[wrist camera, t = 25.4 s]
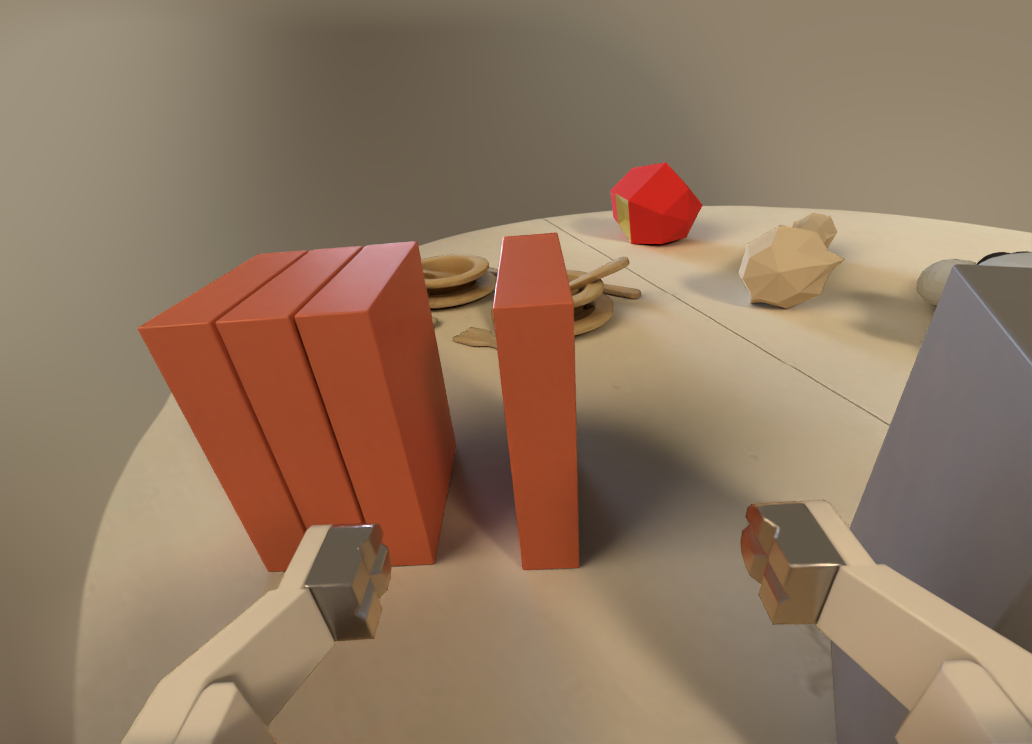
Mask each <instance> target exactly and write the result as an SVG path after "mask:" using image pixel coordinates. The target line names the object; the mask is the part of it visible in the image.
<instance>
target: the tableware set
mask: <svg viewBox="0 0 1032 744" xmlns="http://www.w3.org/2000/svg"><path fill="white" fill-rule="evenodd" d="M421 262H422V268H423V273H424V278H425V284H426V289H427V294H428V300H429V305H430V308H443V307H451V306H456V305H460V304H465V303H469V302H472V301H475V300H477V299H479V298H482V297H484V296H486V295H488V294H489V293H491V292H492V291H493V290H494V289H495V288H496V282H497V279H496V277H495V276H498V269H494V268H490V267H489V262H488V261H487V260H486V259H485V258H483V257H480V256H476V255H470V254H449V255H441V256H435V257H429V258H425V259H421ZM628 265H629V260H628V257H620V258H618V259H616V260H613V261H611V262H609V263H607V264H605V265H604V266H602V267H600V268H598V269H596V270H594V271H592V272H590V273H586V272H581V271H573V270H566V272H567V276H568V281H569V285H570V289H571V294H572V298H573V302H574V335H579V334H582V333H586V332H589V331H592V330H594V329H596V328H598V327H600V326H602V325H603V324H605V323H606V322H607V321H608V320H609V319H610V318H611V316H612V314H613V310H614V306H613V302H612V300H611V299H610V298H609V297H608V296H607V295H605V294H603V293H607V294H612V295H617V296H622V297H627V298H633V299H636V298H639V297H640V296H641V291H640V290H638V289H633V288H627V287H620V286H614V285H607V284H604V283H603V281H602V280H601V278H603V277H605V276H607V275H610V274H612V273H614V272H617V271H619V270H621V269H623V268H625V267H626V266H628ZM491 317H492V321H493V323H494V316H493V308H492V311H491ZM432 321H433V326H434V327H435V326H436V325H437V319H436V318H434V317H432ZM453 341H456V342H459V343H463V344H466V345H470V346H491V347H494V348H497V342H496V336H494V335H493V333H492V332H491V331H488V330H484V329H479V328H474V327H470V328H469V329H467V330H466V332H462V333H460V336H459V335H457V336H455V337H454V338H453Z"/></svg>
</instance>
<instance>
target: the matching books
mask: <svg viewBox="0 0 1032 744" xmlns="http://www.w3.org/2000/svg"><path fill="white" fill-rule="evenodd" d="M138 330H139V332H140V334H141V336H142V338H143V340H144V342H145V344H146V345H147V347H148V349H149V351H150V353H151V355H152V356H153V358H154V360H155V362H156V364H157V366H158V368H159V369H160V371H161V373H162V375H163V377H164V379H165V381H166V383H167V384H168V386H169V388H170V390H171V392H172V394H173V396H174V397H175V399H176V401H177V403H178V405H179V407H180V409H181V410H182V412H183V414H184V416H185V418H186V420H187V422H188V423H189V425H190V427H191V429H192V431H193V433H194V435H195V436H196V438H197V440H198V442H199V444H200V446H201V448H202V449H203V451H204V453H205V455H206V457H207V459H208V461H209V462H210V464H211V466H212V468H213V470H214V472H215V474H216V475H217V477H218V479H219V481H220V483H221V485H222V487H223V489H224V490H225V492H226V494H227V496H228V498H229V500H230V502H231V503H232V505H233V507H234V509H235V511H236V513H237V515H238V516H239V518H240V520H241V522H242V524H243V526H244V528H245V529H246V531H247V533H248V535H249V537H250V539H251V541H252V542H253V544H254V546H255V548H256V550H257V552H258V554H259V555H260V557H261V559H262V561H263V563H264V565H265V567H266V568H267V570H268V571H286V570H287V568H288V566H289V564H290V562H291V560H292V558H293V556H294V554H295V552H296V550H297V548H298V546H299V544H300V542H301V540H302V538H303V536H304V534H305V532H306V531H307V529H309V528H310V527H311V526H312V525H329V524H358V523H378V524H380V526H381V528H382V531H383V533H384V534H383V538H382V541H381V543H383V544H384V545H386V546H387V547H388V548H389V552H390V555H391V564H392V566H401V565H423V564H434V562H435V557H436V552H437V547H438V541H439V536H440V531H441V525H442V520H443V515H444V509H445V504H446V499H447V493H448V488H449V483H450V477H451V472H452V467H453V461H454V456H455V451H456V443H455V437H454V432H453V427H452V421H451V416H450V411H449V405H448V400H447V395H446V390H445V384H444V379H443V374H442V368H441V363H440V358H439V353H438V347H437V342H436V337H435V331H434V326H433V321H432V315H431V310H430V305H429V300H428V294H427V289H426V284H425V278H424V273H423V268H422V262H421V257H420V252H419V247H418V242H416V241H415V242H402V243H390V244H378V245H367V246H366V247H365V248H364V249H363V247H362V246H354V247H343V248H342V247H341V248H329V249H317V250H311V251H310V252H309V253H308V251H307V250H304V251H291V252H279V253H267V254H258V255H256V256H255V257H253V258H251V259H250V260H248V261H246V262H245V263H243V264H241V265H240V266H238V267H236V268H235V269H233V270H232V271H230V272H228V273H227V274H225V275H223V276H222V277H220V278H218V279H217V280H216V281H214V282H212V283H210V284H209V285H207V286H205V287H204V288H202V289H200V290H199V291H197V292H196V293H194V294H192V295H191V296H189V297H188V298H186V299H184V300H182V301H181V302H179V303H178V304H176V305H174V306H173V307H171V308H169V309H168V310H166V311H164V312H163V313H161V314H160V315H158V316H156V317H155V318H153V319H151V320H150V321H148V322H146V323H145V324H143V325H142V326H140V327H138Z"/></svg>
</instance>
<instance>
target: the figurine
mask: <svg viewBox="0 0 1032 744" xmlns="http://www.w3.org/2000/svg"><path fill="white" fill-rule="evenodd" d="M956 264H964V265H984V266H1004V267H1024V268H1032V252H1015V253H1006V252H998V253H992V254H990V255H987V256H985V257H984V258H983V259H981V260H980V261H979V262H978V263H977V264H976V263H975V262H972V261H967V260H959V259H951V260H943V261H939V262H936V263H934V264H932V265H931V266H929V267H927V268H926V269H925V270H924V271H923V272H922V273H921V275H920V277H919V279H918V284H917V290H918V293H919V295H920V296H921V297H922V298H923V299H924V301H926V302H928V303H929V304H931V305H934V306H937V305H938V302H939V300H940V297H941V294H942V292H943V289H944V287H945V284H946V282H947V279H948V277H949V274H950V272H951V269H952V267H953V266H954V265H956Z"/></svg>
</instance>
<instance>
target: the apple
mask: <svg viewBox="0 0 1032 744" xmlns="http://www.w3.org/2000/svg"><path fill="white" fill-rule="evenodd" d="M611 200H612V208H613V217H614V218H615V220H616V221H617V223H618V224H619V226H620V228H621V229H622V231H623V232H624V234H625V235H626V237H627V238H628V240H629V241H630V243H631V244H663V243H667V242H671V241H675V240H678V239H682V238H686V237H687V235H688V233H689V231H690V229H691V227H692V225H693V223H694V221H695V219H696V217H697V215H698V213H699V211H700V209H701V207H702V204H701V203H700V201H699V200H698V199H697V197H696V196H695V195H694V194H693V192H692V191H691V190H690V188H689V187H688V186H687V185H686V184H685V183H684V182H683V181H682V179H681V178H680V177H679V176H678V175H677V174H676V173H675V172H674V171H673V170H672V169H671V168H670V167H669V165H668V164H667V163H660V164H654V165H648V166H642V167H637V168H632V169H631V170H630V171H629V172H628V173H627V174H626V175H625V176H624V178H622V179H621V180H620V182H618V184H617V185H615V187H613V189H612V190H611Z"/></svg>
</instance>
